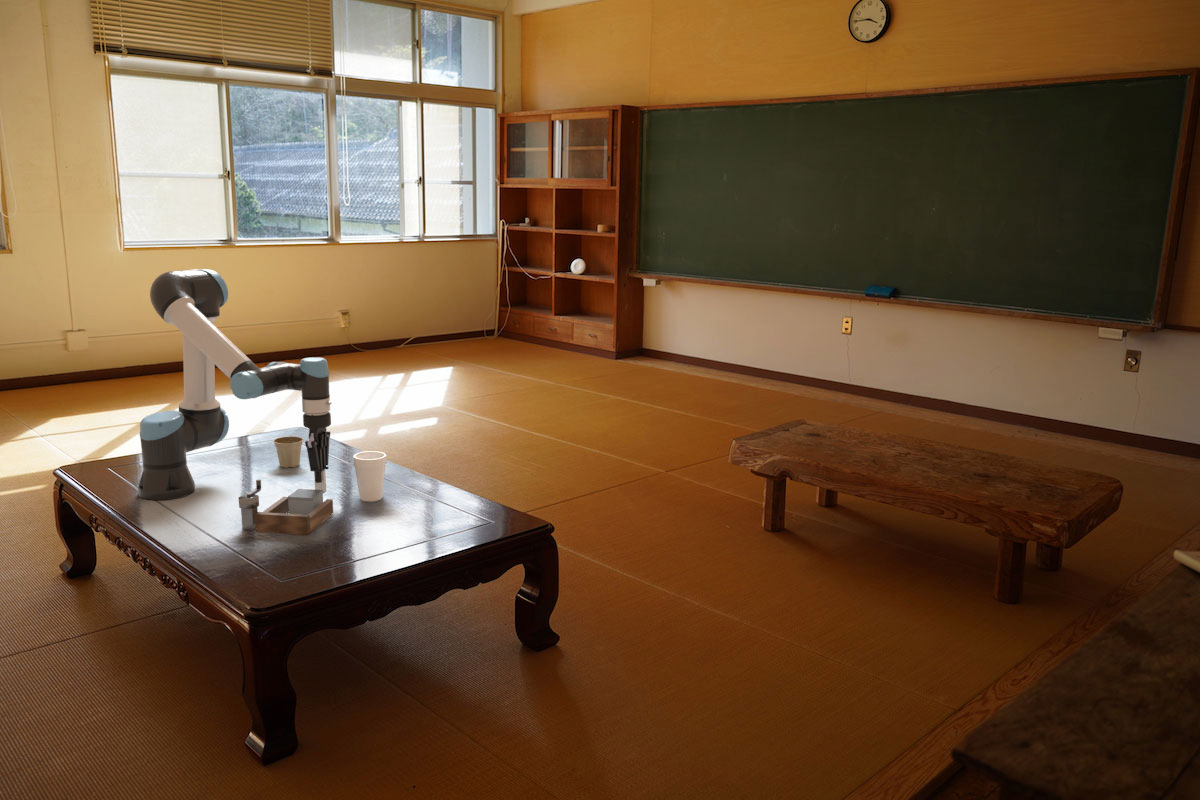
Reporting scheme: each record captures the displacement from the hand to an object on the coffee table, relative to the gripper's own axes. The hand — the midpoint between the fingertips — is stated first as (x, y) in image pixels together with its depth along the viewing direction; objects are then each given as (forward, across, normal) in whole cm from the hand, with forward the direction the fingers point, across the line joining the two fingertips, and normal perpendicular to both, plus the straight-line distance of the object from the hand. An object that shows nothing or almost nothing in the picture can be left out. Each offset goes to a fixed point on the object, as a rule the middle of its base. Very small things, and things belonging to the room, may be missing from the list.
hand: (320, 492), depth 266 cm
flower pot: (+3, +34, +24) cm, 42 cm away
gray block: (+3, -10, 0) cm, 10 cm away
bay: (+3, -16, 0) cm, 17 cm away
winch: (+3, -21, +10) cm, 23 cm away
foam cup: (+3, +6, -13) cm, 14 cm away
